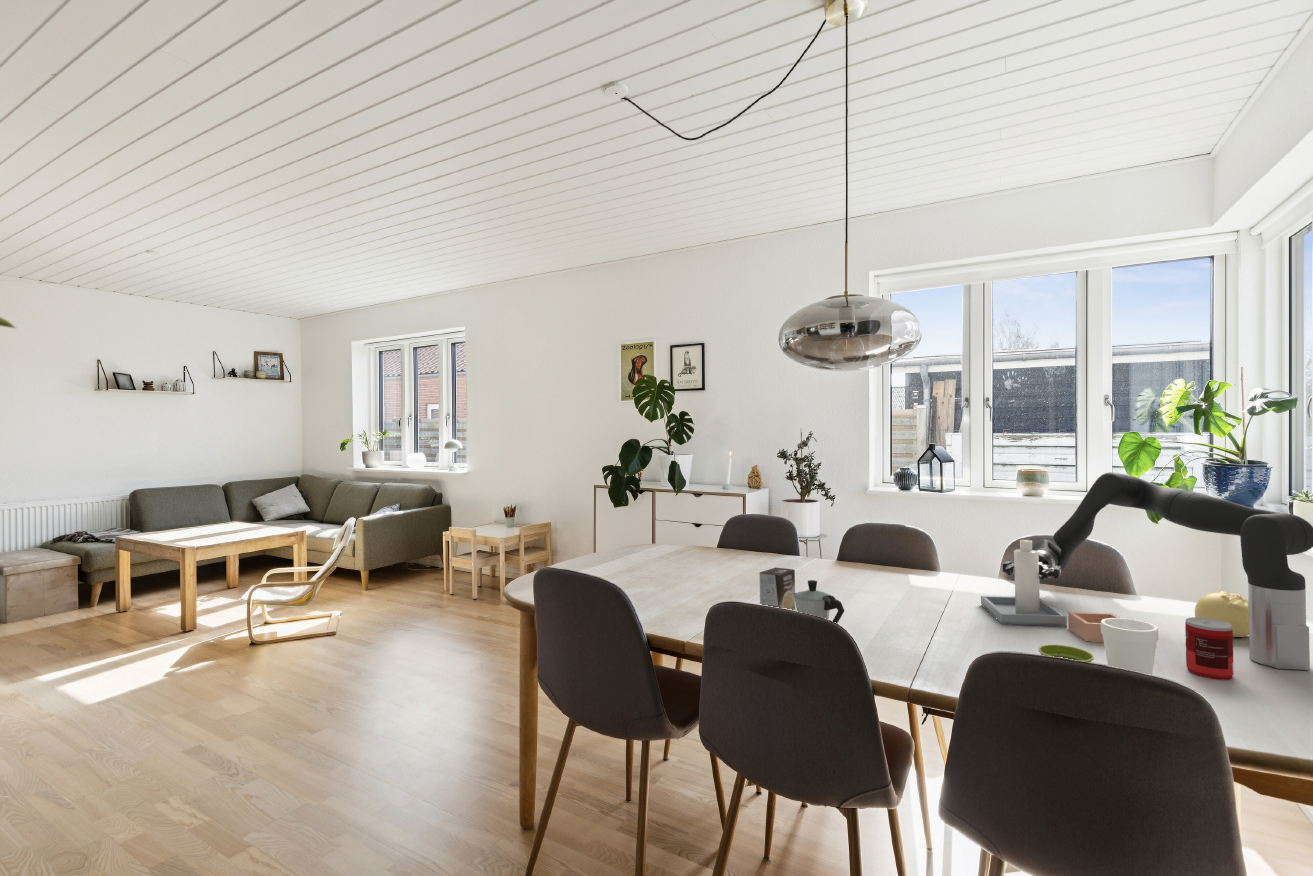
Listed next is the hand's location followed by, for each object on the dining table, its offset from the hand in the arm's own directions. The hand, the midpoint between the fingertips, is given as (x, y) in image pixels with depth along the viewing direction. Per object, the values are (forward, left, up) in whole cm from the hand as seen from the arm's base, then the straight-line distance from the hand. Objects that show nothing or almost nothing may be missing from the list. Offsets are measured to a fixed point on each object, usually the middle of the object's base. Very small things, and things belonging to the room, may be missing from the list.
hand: (1025, 573), depth 179 cm
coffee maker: (-39, +59, -13) cm, 72 cm away
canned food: (-38, -23, -13) cm, 47 cm away
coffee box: (-19, +69, -13) cm, 72 cm away
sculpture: (-8, -43, -13) cm, 46 cm away
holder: (-14, -12, -13) cm, 23 cm away
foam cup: (-49, -3, -13) cm, 51 cm away
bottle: (+1, -1, -12) cm, 12 cm away
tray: (+3, +1, -13) cm, 13 cm away
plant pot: (-55, +11, -13) cm, 58 cm away
